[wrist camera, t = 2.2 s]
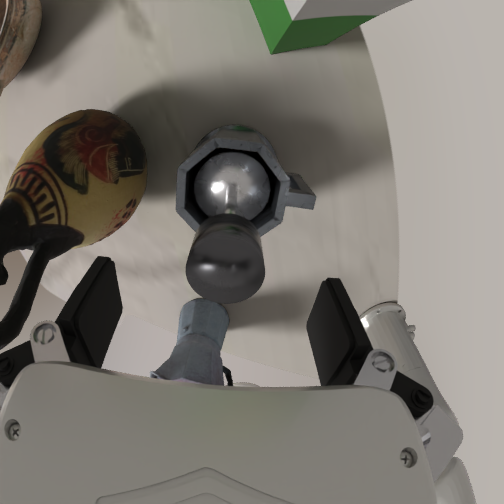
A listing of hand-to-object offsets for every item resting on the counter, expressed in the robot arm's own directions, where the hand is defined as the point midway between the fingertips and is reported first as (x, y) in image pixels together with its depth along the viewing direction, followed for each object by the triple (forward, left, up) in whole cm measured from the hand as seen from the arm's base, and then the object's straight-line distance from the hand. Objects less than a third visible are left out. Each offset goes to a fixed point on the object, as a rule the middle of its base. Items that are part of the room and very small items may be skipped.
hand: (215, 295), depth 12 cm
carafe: (-2, 0, -26) cm, 26 cm away
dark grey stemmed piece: (0, 0, -17) cm, 17 cm away
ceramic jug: (+17, +1, -26) cm, 31 cm away
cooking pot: (+39, -22, -26) cm, 52 cm away
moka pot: (+2, +27, -26) cm, 38 cm away
